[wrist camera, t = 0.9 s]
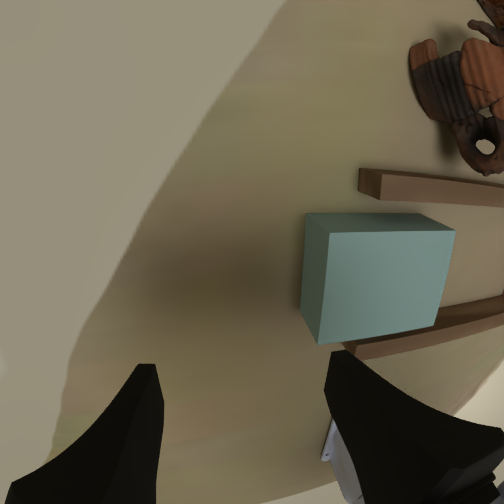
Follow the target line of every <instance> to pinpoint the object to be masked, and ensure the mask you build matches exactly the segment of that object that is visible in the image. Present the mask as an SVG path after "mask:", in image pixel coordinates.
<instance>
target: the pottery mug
mask: <svg viewBox="0 0 504 504" xmlns="http://www.w3.org/2000/svg"><path fill="white" fill-rule="evenodd" d="M467 25H468V27H469V28H471V29H473V30H477V31H479V32H480V33H482V34H484V35H485V36H486V37H487V38H488V39H489V41H490V43H488V42H486V41H483V40H479V39H476V38H471V39H468V40H466V41H465V42H464V43H463V45H462V48H461V51H455V52H453V53H450V54H449V55H446V56H444V57H442V58H440V59H439V56H438V54H437V48H436V42H435V41H434V40H433V39H427V40H424V41H423V42H421V43H419V44H417V45H416V46H413V47H411V48H410V63H411V68H412V73H413V77H414V81H415V87H416V90H417V92H418V96H419V99H420V101H421V104H422V106H423V107H424V110H425V111H426V113H427V115H428V116H429V118H430V119H435V120H441V121H443V122H448V123H451V124H452V125H451V126H450V128H449V132H450V133H451V134H452V135H453V136H454V137H455V139H456V142H457V146H458V148H459V151H460V154H461V156H462V158H463V159H464V160H465V162H466V163H467V164H468V165H469V166H470V167H471V168H472V169H474V170H475V171H476V172H478V173H482V174H483V176H489V175H490V174H494V173H497V174H500V173H502V172H503V171H504V26H501V28H496V27H494V26H492V25H490V24H489V23H486V22H484V21H476V20H473V19H472V20H470V21H469V22H468V23H467ZM488 106H489V108H490V112H491V114H492V115H493V116H492V117H488V118H486V117H484V116H483V115H481V114H479V113H478V111H479V110H481V109H484V108H485V107H488ZM483 139H486V140H488V141H490V142H491V143H493V144H494V145H495V150H494V151H493V153H491V154H489V155H486V154H483V153H482V152H481V151H480V150H479V149H478V148H477V147H476V142H477V141H478V140H483Z"/></svg>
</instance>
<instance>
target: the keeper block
mask: <svg viewBox="0 0 504 504" xmlns="http://www.w3.org/2000/svg"><path fill="white" fill-rule="evenodd" d="M455 233H456V230H454V229H452V228H450V227H447V226H445V225H443V224H441V223H439V222H437V221H435V220H433V219H430V218H428V217H426V216H424V215H422V214H412V213H306V224H305V242H304V259H303V273H302V287H301V300H300V312H301V313H302V315H303V317H304V319H305V321H306V323H307V325H308V327H309V329H310V331H311V333H312V335H313V337H314V339H315V341H316V343H317V345H321V344H329V343H336V342H344V341H351V340H357V339H364V338H370V337H376V336H382V335H388V334H393V333H399V332H404V331H409V330H414V329H419V328H424V327H429V326H433V325H434V322H435V318H436V315H437V312H438V308H439V305H440V301H441V297H442V293H443V289H444V286H445V281H446V277H447V273H448V269H449V264H450V259H451V255H452V250H453V244H454V239H455Z"/></svg>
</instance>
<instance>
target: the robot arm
mask: <svg viewBox="0 0 504 504" xmlns="http://www.w3.org/2000/svg"><path fill="white" fill-rule="evenodd" d="M324 393H325V396H326V400H327V403H328V407H329V410H330V413H331V415H332V417H333V419H332V422H331V426H330V429H329V433H328V436H327V439H326V443H325V446H324V449H323V452H322V455H321V460H322V461H328V460H330V462H331V465H332V467H333V470H334V473H335V475H336V478H337V481H338V484H339V486H340V489H341V491H342V494H343V496H344V498H345V500H346V501H347V502H348V503H349V504H504V481H503V482H502V483H501V484H500V485H499V486H498V488H496V487H495V485H494V483H493V481H494V480H495V479H496V477H495V475H494V474H493V470H494V469H495V468H496V467H497V466H498V465H499V464H500V463H501V461H502V460H503V459H504V432H503V431H502V429H501V428H498V427H492V426H486V425H481V424H476V423H472V422H469V421H465V420H462V419H459V418H456V417H453V416H450V415H448V414H445V413H443V412H440V411H438V410H436V409H433V408H431V407H429V406H427V405H425V404H423V403H421V402H420V401H418V400H416V399H414V398H412V397H410V396H409V395H407V394H406V393H404V392H402V391H401V390H399V389H398V388H396V387H395V386H393V385H392V384H390V383H389V382H388V381H386V380H385V379H383V378H382V377H381V376H379V375H378V374H377V373H375V372H374V371H373V370H372V369H370V368H369V367H368V366H366V365H365V364H364V363H363V362H361V361H360V360H359V359H358V358H356V357H355V356H354V355H353V354H351V353H350V352H349V351H347V350H341V351H334V352H331V356H330V362H329V367H328V372H327V377H326V382H325V387H324ZM163 427H164V399H163V395H162V391H161V387H160V383H159V379H158V374H157V370H156V366H155V364H138V365H137V366H136V367H135V369H134V371H133V372H132V374H131V375H130V377H129V378H128V379H127V381H126V382H125V384H124V385H123V387H122V388H121V390H120V391H119V392H118V394H117V395H116V396H115V398H114V399H113V400H112V402H111V403H110V404H109V406H108V407H107V408H106V409H105V410H104V412H103V413H102V414H101V415H100V416H99V418H98V419H97V420H96V421H95V422H94V423H93V424H92V425H91V427H90V428H89V429H88V430H87V431H86V432H85V433H84V434H83V435H82V436H81V437H79V438H78V439H77V440H76V441H75V442H74V443H73V444H72V445H70V446H69V447H68V448H67V449H66V450H65V451H63V452H62V453H61V454H59V455H58V456H57V457H55V458H54V459H52V460H51V461H49V462H48V463H47V464H45V465H43V466H42V467H40V468H39V469H37V470H35V471H34V472H32V473H30V474H28V475H26V476H24V477H22V478H20V479H18V480H16V481H14V482H12V483H11V486H10V488H9V491H8V494H7V497H6V500H5V504H156V478H157V469H158V462H159V455H160V448H161V441H162V434H163Z"/></svg>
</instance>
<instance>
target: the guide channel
mask: <svg viewBox="0 0 504 504" xmlns="http://www.w3.org/2000/svg"><path fill="white" fill-rule="evenodd" d="M358 191H360V192H362V193H364V194H367V195H369V196H371V197H374V198H376V199H378V200H388V201H413V202H433V203H450V204H465V205H479V206H491V207H502V208H504V185H501V184H495V183H489V182H483V181H476V180H470V179H463V178H455V177H448V176H440V175H431V174H422V173H412V172H402V171H391V170H378V169H364V168H359V184H358ZM501 325H504V291H503V295H501V296H497V297H492V298H488V299H483V300H479V301H474V302H469V303H464V304H459V305H454V306H449V307H443V308H438V312H437V315H436V318H435V322H434V325H433V326H429V327H424V328H419V329H414V330H409V331H404V332H399V333H393V334H388V335H382V336H376V337H370V338H364V339H357V340H351V341H344V342H342V344H343V346H344V347H345V349H346V350H347V351H349V352H350V353H351V354H353V355H354V356H355V357H356V358H358V359H359V360H360V361H361V360H367V359H372V358H378V357H383V356H388V355H393V354H397V353H402V352H407V351H411V350H416V349H420V348H424V347H428V346H432V345H436V344H440V343H444V342H448V341H451V340H455V339H459V338H462V337H466V336H469V335H473V334H476V333H479V332H483V331H486V330H489V329H492V328H495V327H498V326H501Z"/></svg>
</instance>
